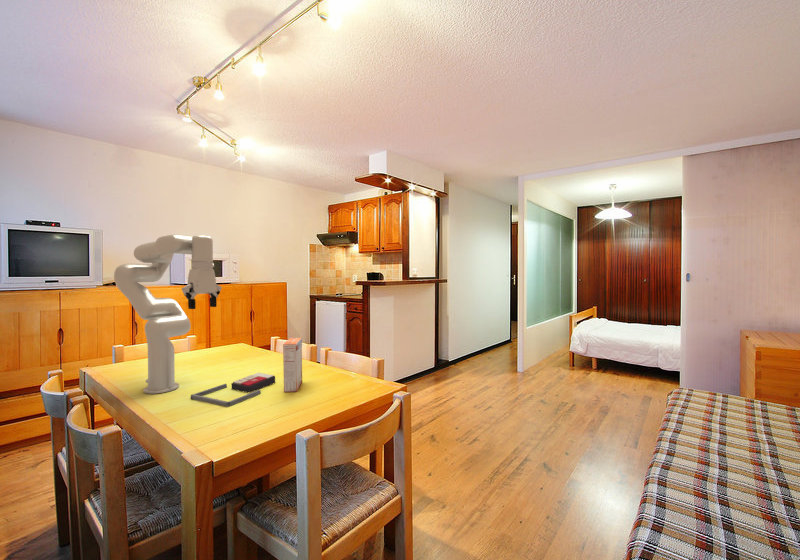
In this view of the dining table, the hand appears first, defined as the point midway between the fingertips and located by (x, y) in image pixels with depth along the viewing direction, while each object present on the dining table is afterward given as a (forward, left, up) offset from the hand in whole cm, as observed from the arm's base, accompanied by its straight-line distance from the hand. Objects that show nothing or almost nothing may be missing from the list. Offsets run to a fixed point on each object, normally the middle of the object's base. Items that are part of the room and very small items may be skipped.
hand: (202, 307), depth 141 cm
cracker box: (+25, +24, -37) cm, 51 cm away
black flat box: (+8, +19, -37) cm, 42 cm away
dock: (+8, +4, -36) cm, 38 cm away
